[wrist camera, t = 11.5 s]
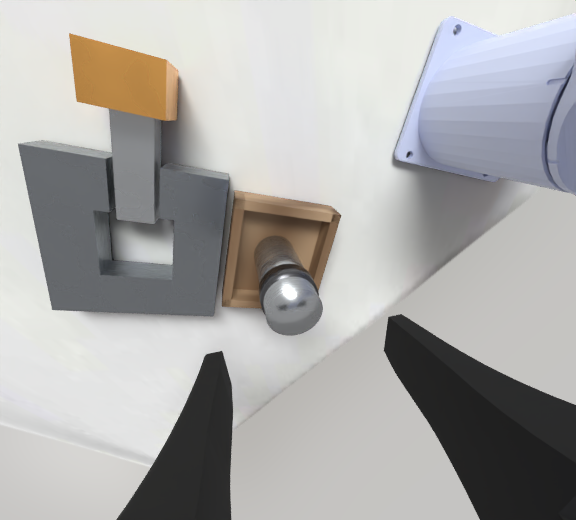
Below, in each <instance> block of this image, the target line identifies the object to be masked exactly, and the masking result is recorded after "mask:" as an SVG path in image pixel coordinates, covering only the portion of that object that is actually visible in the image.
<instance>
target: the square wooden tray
mask: <svg viewBox="0 0 576 520" xmlns="http://www.w3.org/2000/svg"><path fill="white" fill-rule="evenodd" d="M340 218H341V215H340V214H339V213H338V212H337V211H336V210H335V209H334V208H332V207H331V206H327V205H321V204H315V203H309V202H303V201H297V200H290V199H284V198H278V197H272V196H266V195H260V194H254V193H248V192H242V191H235V192H234V200H233V208H232V216H231V224H230V232H229V240H228V248H227V257H226V265H225V273H224V281H223V289H222V307H242V308H261V303H260V297H259V291H258V289H259V279H258V274H257V269H256V264H255V259H254V252H255V248H256V246H257V245H258V243H259V242H260V241H261V240H263V239H264V238H266V237H269V236H282V237H284V238H286V239H287V240H289V241H290V242H291V244H292V246H293V248H294V250H295V252H296V253H297V255H298V257H299V259H300V261H301V263H302V265H303V267H304V268H305V269H306V270H307V271H308V272H309V273H310V275H311V277H312V279H313V281H314V282H315V284H316V286H317V289H318V290H319V286H320V283H321V280H322V277H323V273H324V270H325V267H326V264H327V260H328V257H329V254H330V250H331V247H332V244H333V241H334V237H335V234H336V231H337V228H338V224H339V221H340Z"/></svg>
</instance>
